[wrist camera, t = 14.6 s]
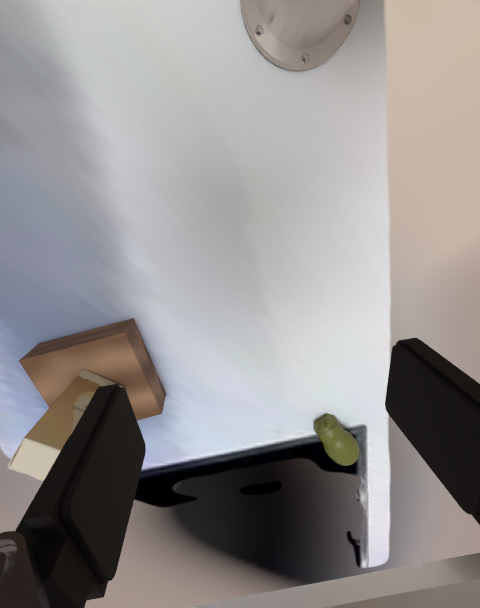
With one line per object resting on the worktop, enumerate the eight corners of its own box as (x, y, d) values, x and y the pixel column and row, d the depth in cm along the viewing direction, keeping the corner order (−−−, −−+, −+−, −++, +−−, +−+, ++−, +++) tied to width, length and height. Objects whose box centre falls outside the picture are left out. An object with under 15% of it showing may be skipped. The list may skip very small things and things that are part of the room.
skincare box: (126, 386, 38) (90, 462, 27) (112, 409, 39) (72, 491, 28) (80, 366, 37) (21, 438, 25) (67, 391, 38) (4, 470, 26)
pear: (343, 477, 49) (311, 439, 47) (333, 454, 54) (304, 419, 52) (370, 461, 48) (338, 421, 46) (357, 439, 53) (329, 403, 51)
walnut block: (40, 341, 40) (18, 360, 35) (134, 317, 40) (124, 332, 36) (83, 414, 45) (69, 438, 41) (166, 391, 45) (161, 413, 41)
